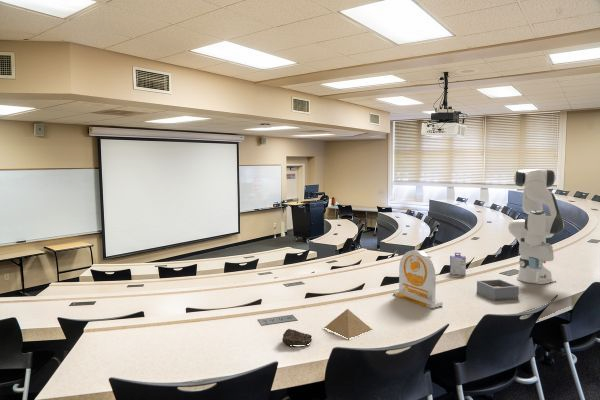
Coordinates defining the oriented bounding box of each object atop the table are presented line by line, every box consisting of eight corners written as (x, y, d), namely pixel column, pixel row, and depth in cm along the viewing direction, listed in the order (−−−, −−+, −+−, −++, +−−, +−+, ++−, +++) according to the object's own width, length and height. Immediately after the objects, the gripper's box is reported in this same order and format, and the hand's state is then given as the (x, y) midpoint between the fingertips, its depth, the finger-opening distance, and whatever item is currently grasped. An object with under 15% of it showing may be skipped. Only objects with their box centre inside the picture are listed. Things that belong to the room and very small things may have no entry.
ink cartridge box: (464, 273, 273) (464, 252, 272) (466, 275, 268) (466, 254, 267) (449, 272, 275) (449, 252, 274) (450, 274, 270) (451, 253, 269)
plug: (535, 269, 216) (535, 257, 215) (541, 271, 212) (541, 258, 212) (529, 270, 215) (529, 257, 215) (534, 271, 211) (535, 259, 211)
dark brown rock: (279, 346, 161) (279, 334, 160) (289, 336, 170) (289, 325, 169) (305, 351, 156) (305, 338, 156) (314, 341, 165) (314, 329, 165)
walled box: (499, 291, 232) (499, 279, 232) (518, 298, 218) (518, 286, 217) (476, 292, 229) (477, 280, 229) (494, 300, 215) (494, 288, 214)
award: (392, 294, 227) (393, 247, 225) (404, 292, 231) (404, 245, 229) (430, 309, 202) (431, 256, 200) (442, 306, 207) (443, 254, 205)
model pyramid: (345, 320, 189) (345, 299, 188) (374, 331, 176) (374, 309, 175) (320, 329, 178) (320, 307, 177) (348, 341, 165) (348, 318, 164)
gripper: (557, 243, 203) (556, 270, 204) (526, 237, 223) (526, 261, 224) (547, 244, 202) (546, 271, 203) (517, 237, 222) (516, 262, 223)
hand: (535, 266), depth 213 cm, fingers closed on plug, 4 cm apart
